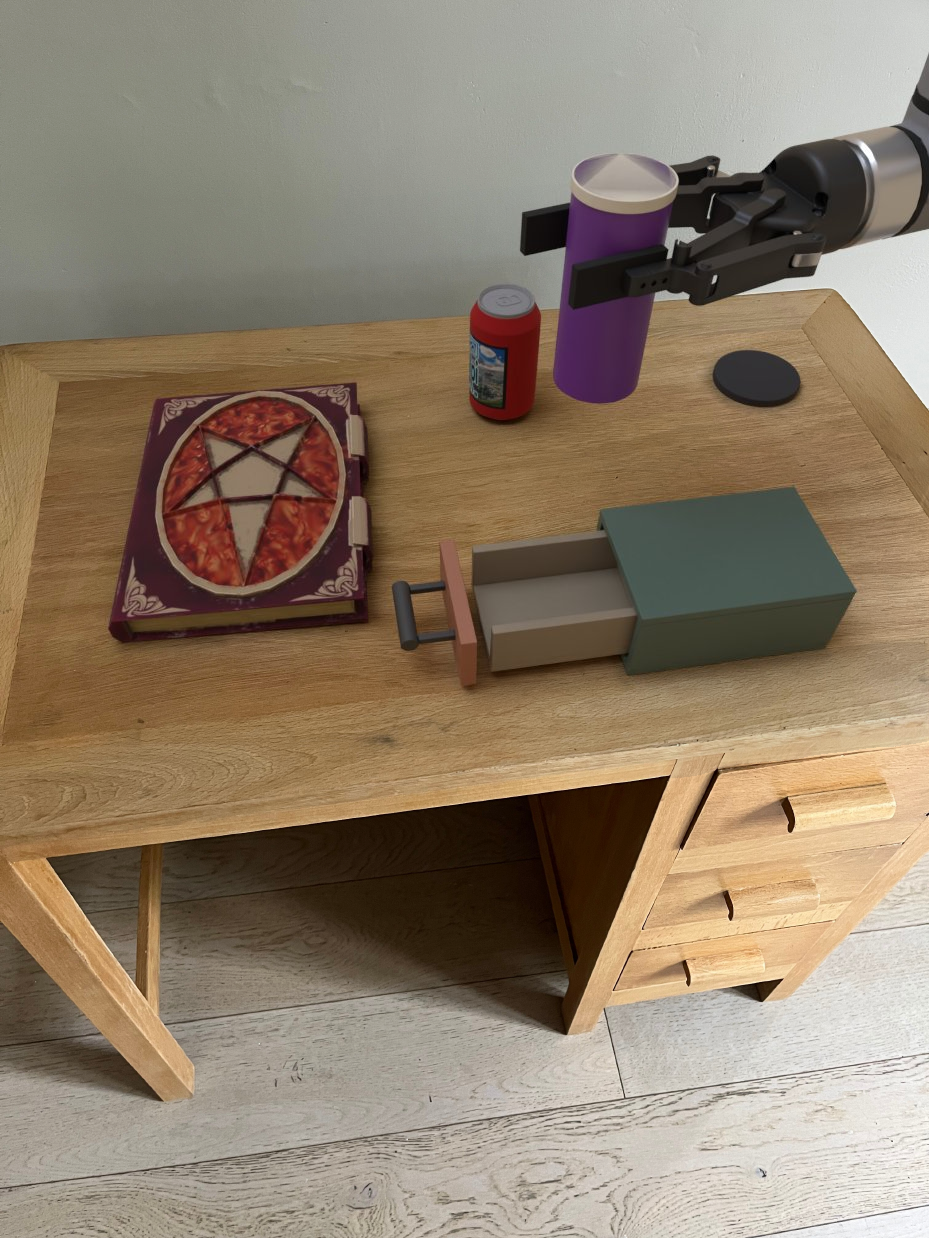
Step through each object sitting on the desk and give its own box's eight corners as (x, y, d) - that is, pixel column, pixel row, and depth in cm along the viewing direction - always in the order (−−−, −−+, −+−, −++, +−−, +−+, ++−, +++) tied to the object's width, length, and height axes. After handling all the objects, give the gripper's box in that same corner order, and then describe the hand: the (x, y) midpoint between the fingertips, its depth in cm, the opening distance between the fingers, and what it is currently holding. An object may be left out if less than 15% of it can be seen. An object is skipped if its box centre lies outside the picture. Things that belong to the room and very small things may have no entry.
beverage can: (459, 393, 90) (458, 287, 80) (517, 379, 91) (524, 274, 82) (483, 432, 86) (486, 325, 77) (544, 416, 88) (555, 310, 78)
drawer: (406, 693, 65) (402, 652, 61) (390, 591, 72) (386, 547, 67) (655, 659, 67) (668, 616, 63) (618, 562, 74) (627, 518, 70)
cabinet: (627, 675, 67) (642, 619, 62) (589, 567, 75) (600, 508, 69) (825, 648, 69) (857, 591, 64) (770, 545, 76) (794, 486, 71)
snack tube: (657, 379, 66) (700, 177, 54) (599, 416, 63) (631, 212, 51) (591, 341, 69) (618, 143, 57) (533, 376, 66) (549, 174, 54)
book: (160, 425, 87) (145, 383, 83) (367, 408, 88) (362, 367, 84) (118, 647, 70) (96, 608, 66) (377, 623, 71) (371, 583, 67)
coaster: (810, 374, 92) (813, 368, 92) (779, 417, 88) (781, 411, 87) (732, 346, 95) (734, 340, 95) (698, 387, 91) (700, 380, 90)
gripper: (904, 312, 59) (612, 392, 53) (741, 190, 70) (485, 245, 65) (953, 203, 53) (630, 279, 48) (767, 89, 65) (487, 140, 59)
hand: (547, 260), depth 56 cm, fingers closed on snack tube, 6 cm apart
